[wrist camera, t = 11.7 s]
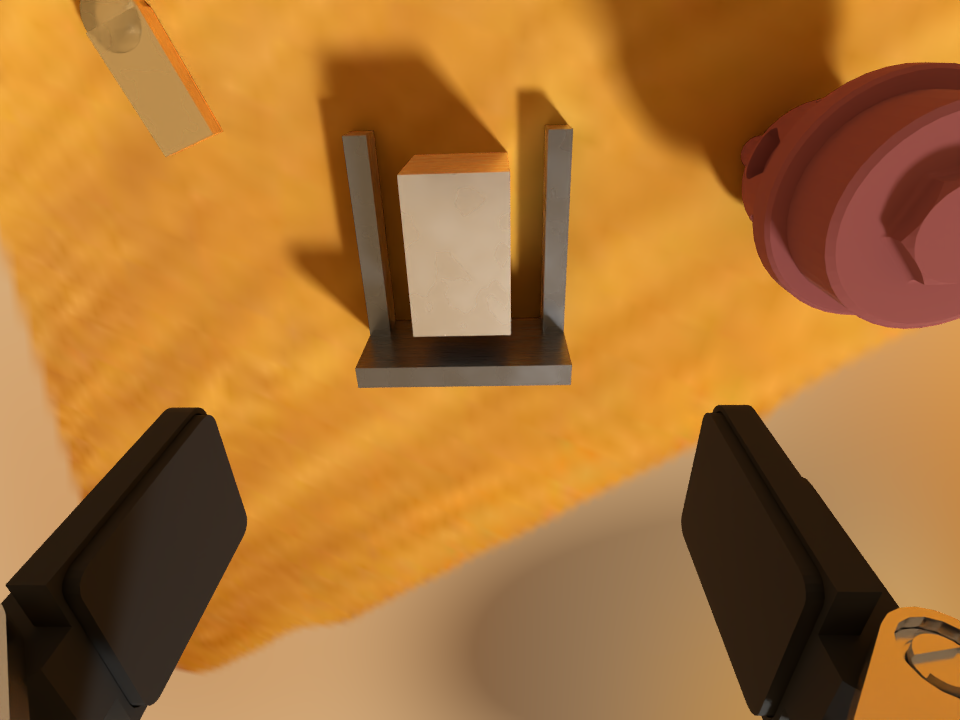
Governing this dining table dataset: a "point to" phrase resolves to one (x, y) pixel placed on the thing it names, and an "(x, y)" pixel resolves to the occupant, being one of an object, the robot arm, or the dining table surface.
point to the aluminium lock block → (457, 243)
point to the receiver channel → (461, 359)
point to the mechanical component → (865, 197)
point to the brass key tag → (149, 72)
